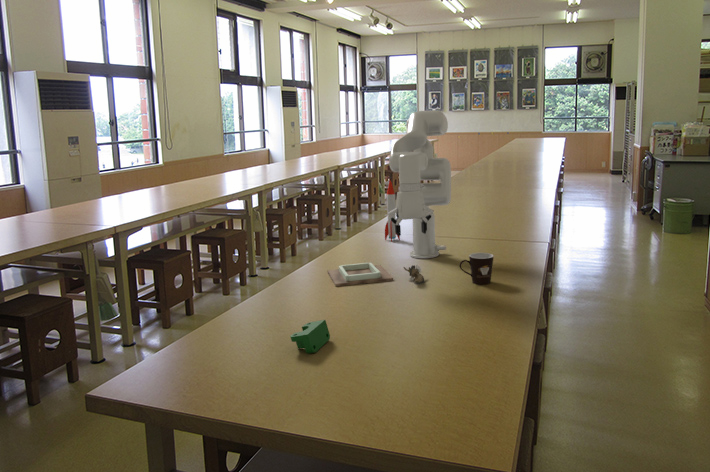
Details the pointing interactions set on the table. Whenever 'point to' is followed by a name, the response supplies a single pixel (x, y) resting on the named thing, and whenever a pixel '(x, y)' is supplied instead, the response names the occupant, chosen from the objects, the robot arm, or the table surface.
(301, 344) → the clamp
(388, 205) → the toy rocket
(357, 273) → the jig board
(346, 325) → the table surface
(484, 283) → the coffee mug
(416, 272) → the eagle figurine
